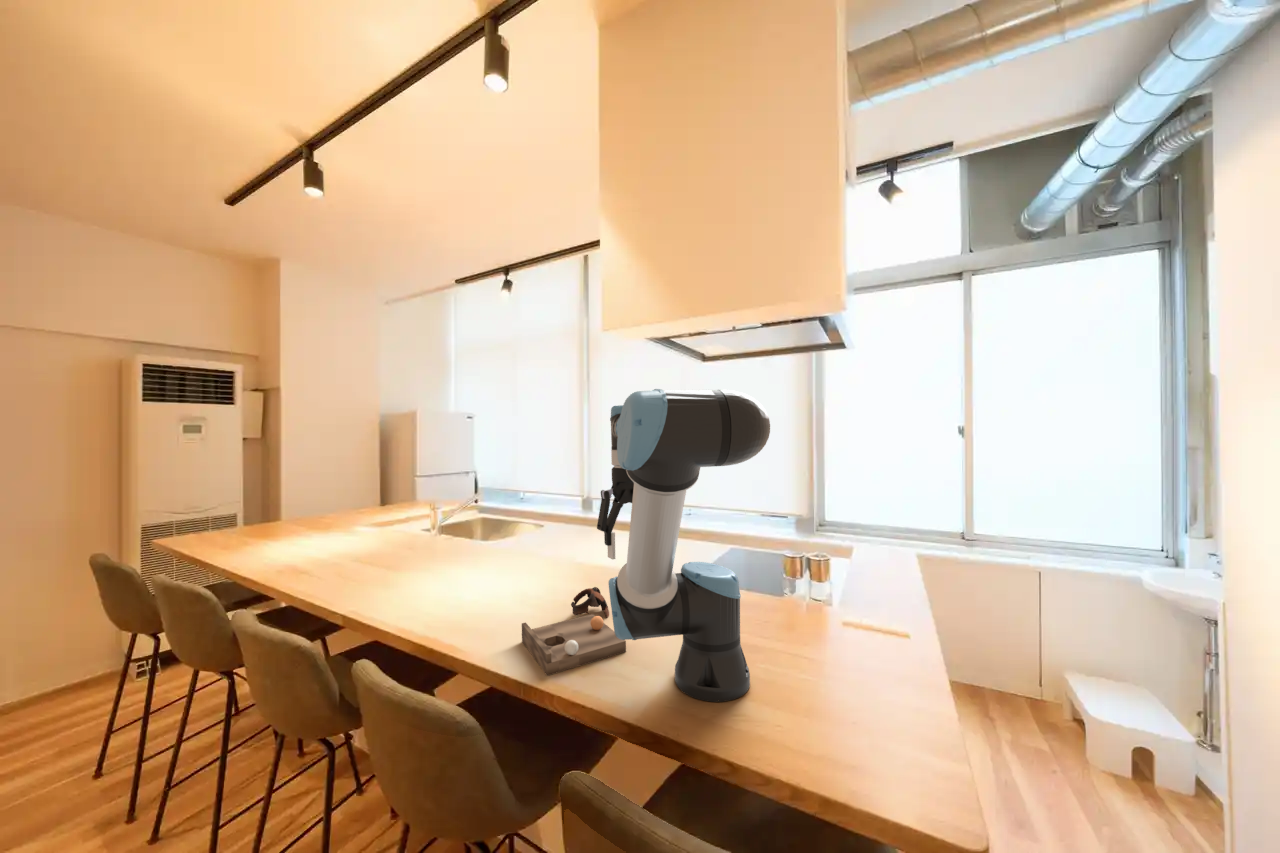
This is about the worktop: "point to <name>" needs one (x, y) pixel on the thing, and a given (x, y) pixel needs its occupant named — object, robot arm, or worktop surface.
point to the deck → (552, 639)
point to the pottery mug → (589, 601)
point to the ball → (597, 622)
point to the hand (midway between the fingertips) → (627, 554)
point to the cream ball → (571, 647)
